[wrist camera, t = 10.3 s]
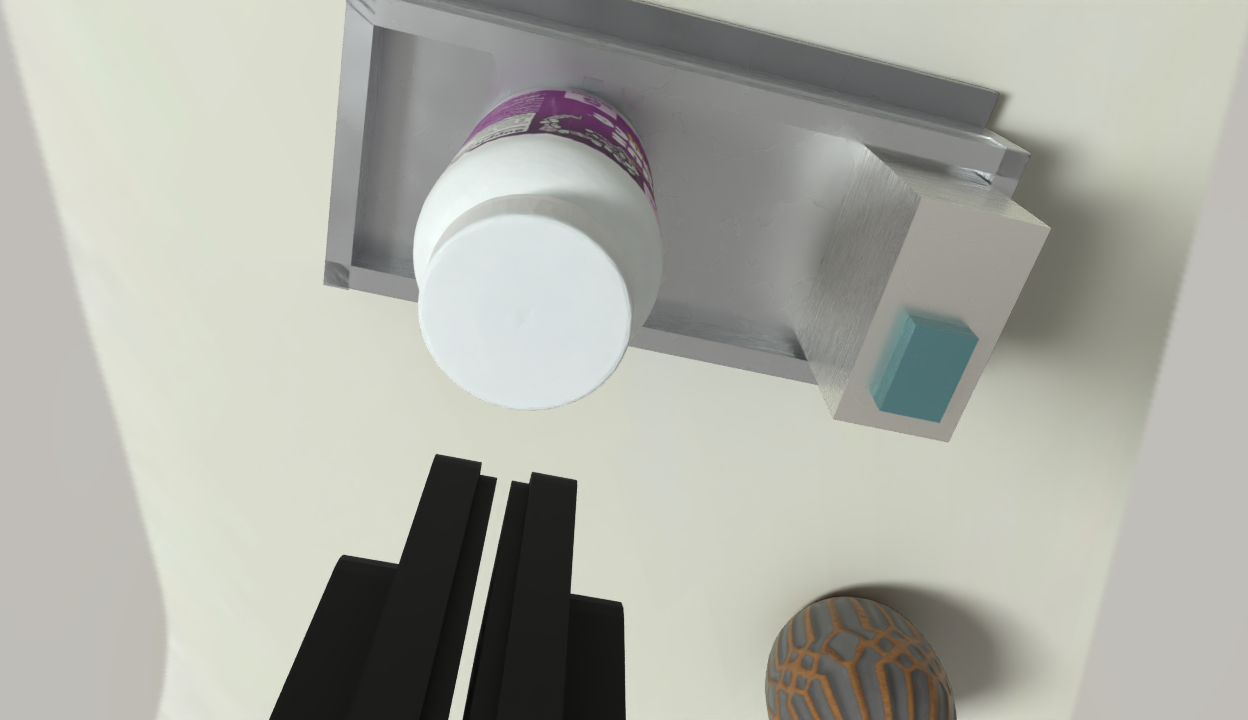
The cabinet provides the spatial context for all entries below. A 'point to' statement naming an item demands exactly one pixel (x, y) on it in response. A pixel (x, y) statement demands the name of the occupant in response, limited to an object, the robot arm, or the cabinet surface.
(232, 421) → the cabinet surface
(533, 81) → the grey tray
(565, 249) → the pill bottle
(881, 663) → the vase
